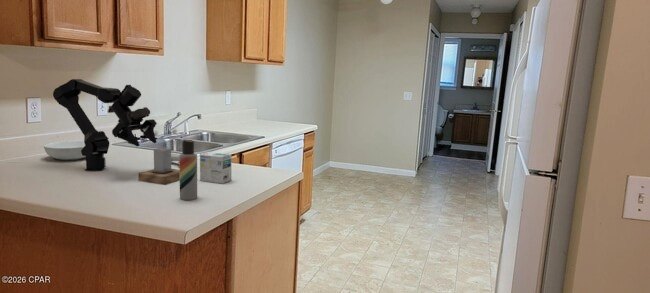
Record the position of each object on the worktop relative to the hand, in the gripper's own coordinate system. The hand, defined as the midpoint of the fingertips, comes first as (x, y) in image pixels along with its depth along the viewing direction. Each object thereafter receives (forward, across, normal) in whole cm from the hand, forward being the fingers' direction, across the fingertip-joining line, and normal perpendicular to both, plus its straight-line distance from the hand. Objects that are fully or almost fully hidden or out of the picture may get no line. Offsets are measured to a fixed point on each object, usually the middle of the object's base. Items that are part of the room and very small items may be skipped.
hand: (147, 144), depth 173 cm
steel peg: (+15, 0, +4) cm, 15 cm away
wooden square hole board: (+15, 0, +4) cm, 15 cm away
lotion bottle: (+32, -16, -13) cm, 38 cm away
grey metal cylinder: (+4, +26, +16) cm, 30 cm away
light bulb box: (+28, +9, -9) cm, 30 cm away
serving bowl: (-29, +11, +48) cm, 57 cm away
